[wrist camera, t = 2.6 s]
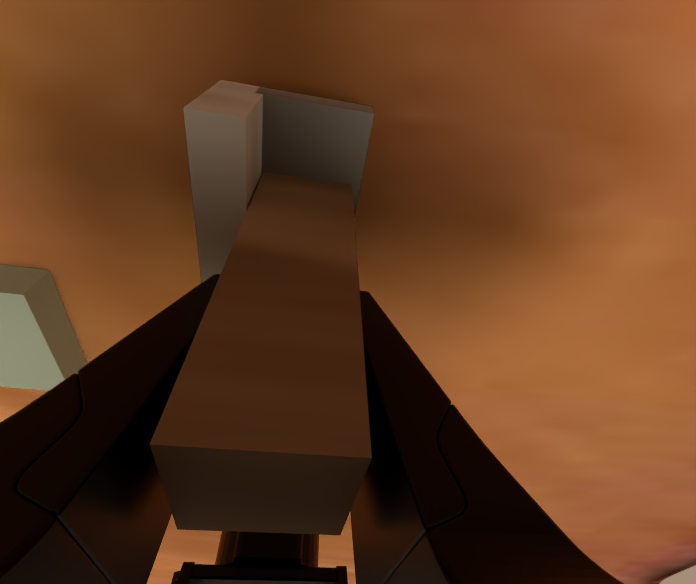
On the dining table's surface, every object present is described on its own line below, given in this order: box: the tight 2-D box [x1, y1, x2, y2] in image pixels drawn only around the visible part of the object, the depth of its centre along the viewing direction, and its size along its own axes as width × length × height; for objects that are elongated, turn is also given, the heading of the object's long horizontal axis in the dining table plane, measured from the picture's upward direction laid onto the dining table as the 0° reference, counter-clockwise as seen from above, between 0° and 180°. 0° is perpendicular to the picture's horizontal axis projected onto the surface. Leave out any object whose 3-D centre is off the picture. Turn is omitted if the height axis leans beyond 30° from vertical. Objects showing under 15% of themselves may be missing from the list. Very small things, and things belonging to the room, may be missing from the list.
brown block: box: [150, 80, 374, 535], centre depth 8 cm, size 6×4×9 cm, turn 171°
